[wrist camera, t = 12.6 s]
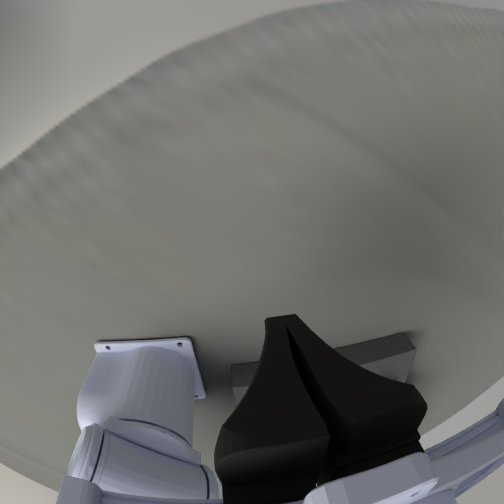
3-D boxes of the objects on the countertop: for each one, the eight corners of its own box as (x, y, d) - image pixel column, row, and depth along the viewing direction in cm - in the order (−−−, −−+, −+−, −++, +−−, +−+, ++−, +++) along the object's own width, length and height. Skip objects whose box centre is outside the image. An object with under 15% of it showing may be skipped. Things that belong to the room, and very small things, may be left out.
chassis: (249, 459, 33) (252, 479, 30) (230, 364, 26) (232, 391, 23) (373, 432, 35) (381, 449, 31) (406, 331, 27) (422, 350, 24)
